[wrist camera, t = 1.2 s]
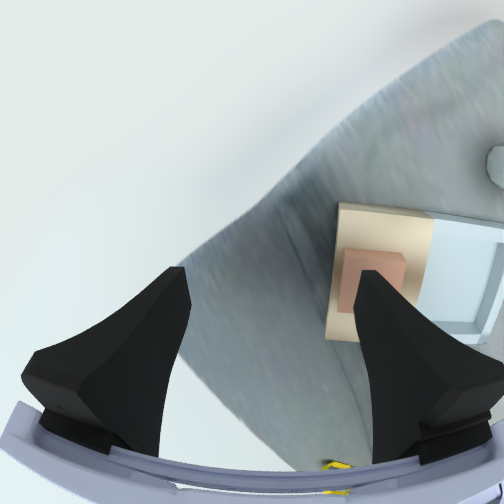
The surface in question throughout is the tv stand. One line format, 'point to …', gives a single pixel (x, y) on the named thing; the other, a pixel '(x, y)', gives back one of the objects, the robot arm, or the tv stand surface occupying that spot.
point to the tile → (362, 259)
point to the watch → (340, 466)
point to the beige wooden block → (380, 239)
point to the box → (463, 277)
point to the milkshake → (496, 166)
